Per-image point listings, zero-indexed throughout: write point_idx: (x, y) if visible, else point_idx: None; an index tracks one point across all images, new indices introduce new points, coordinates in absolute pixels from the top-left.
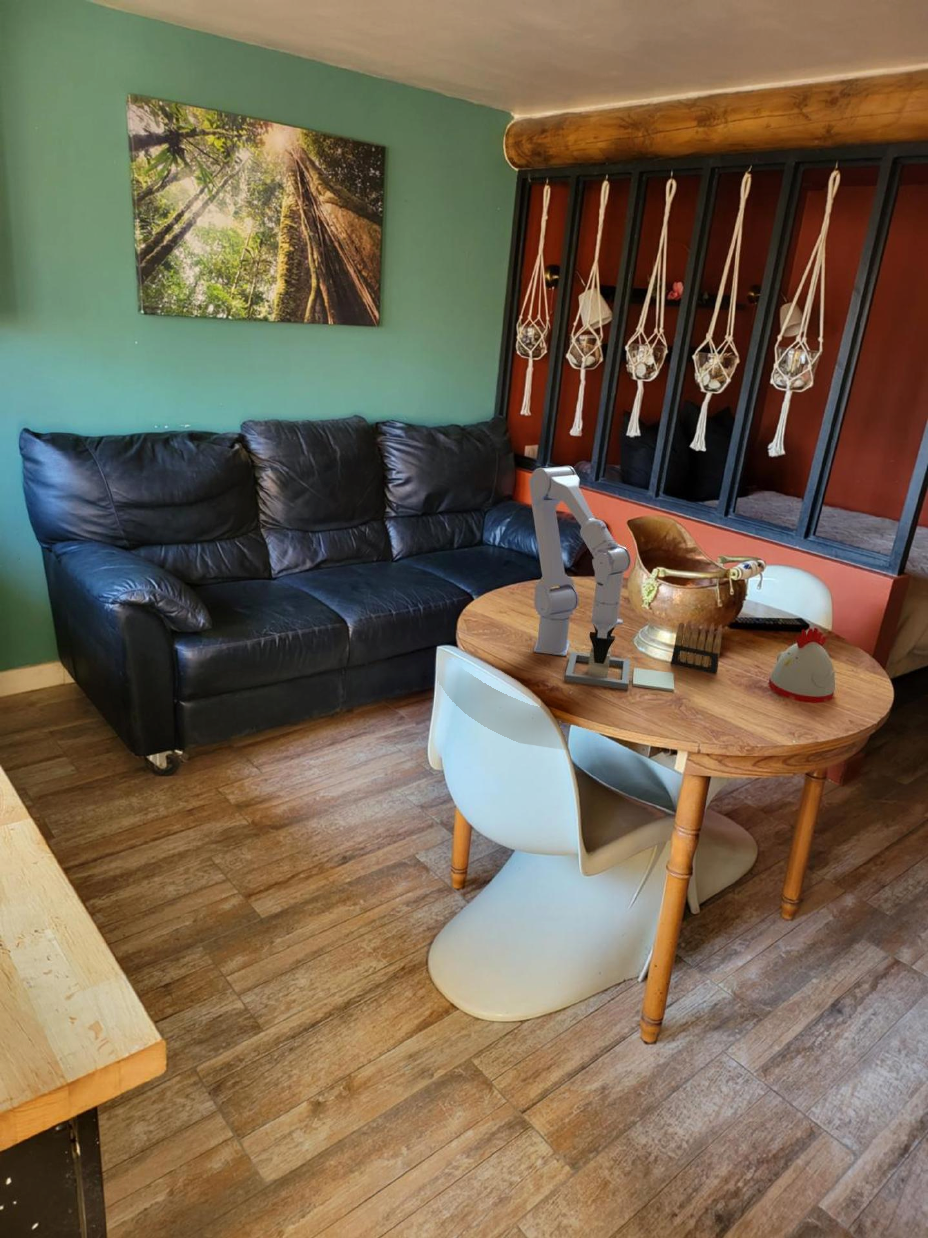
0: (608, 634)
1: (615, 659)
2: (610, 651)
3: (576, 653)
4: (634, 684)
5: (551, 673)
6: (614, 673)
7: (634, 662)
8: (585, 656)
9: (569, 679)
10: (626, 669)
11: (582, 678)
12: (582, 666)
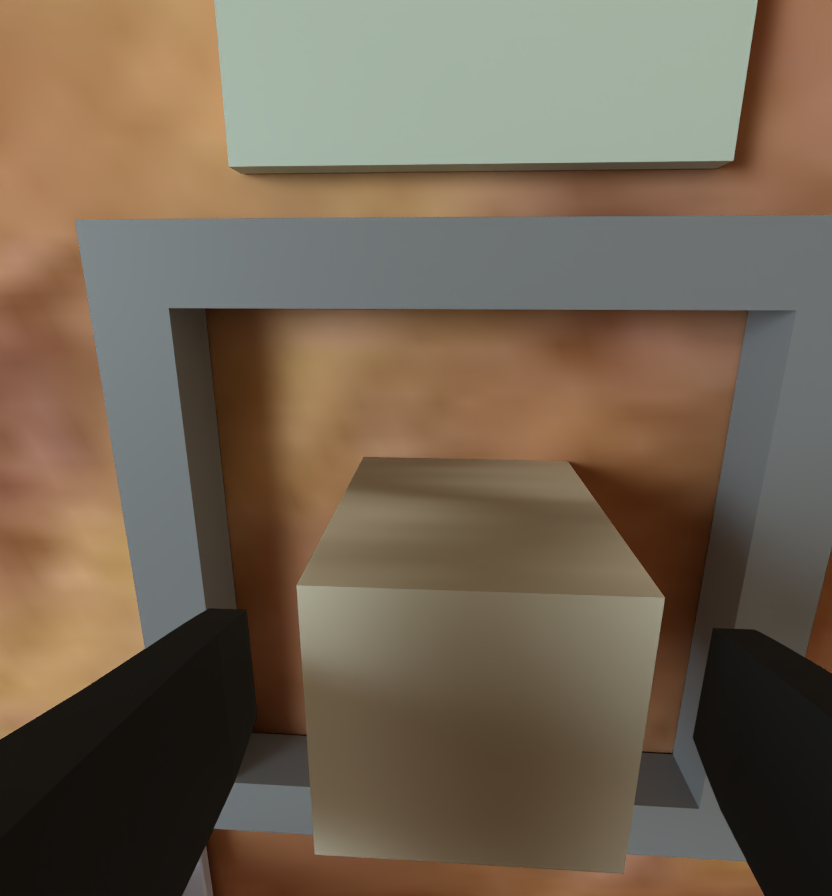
0: (22, 891)
1: (160, 411)
2: (415, 594)
3: None
4: (734, 140)
5: (583, 886)
6: (411, 392)
7: (3, 170)
8: None
9: None
10: (426, 261)
11: None
12: None
